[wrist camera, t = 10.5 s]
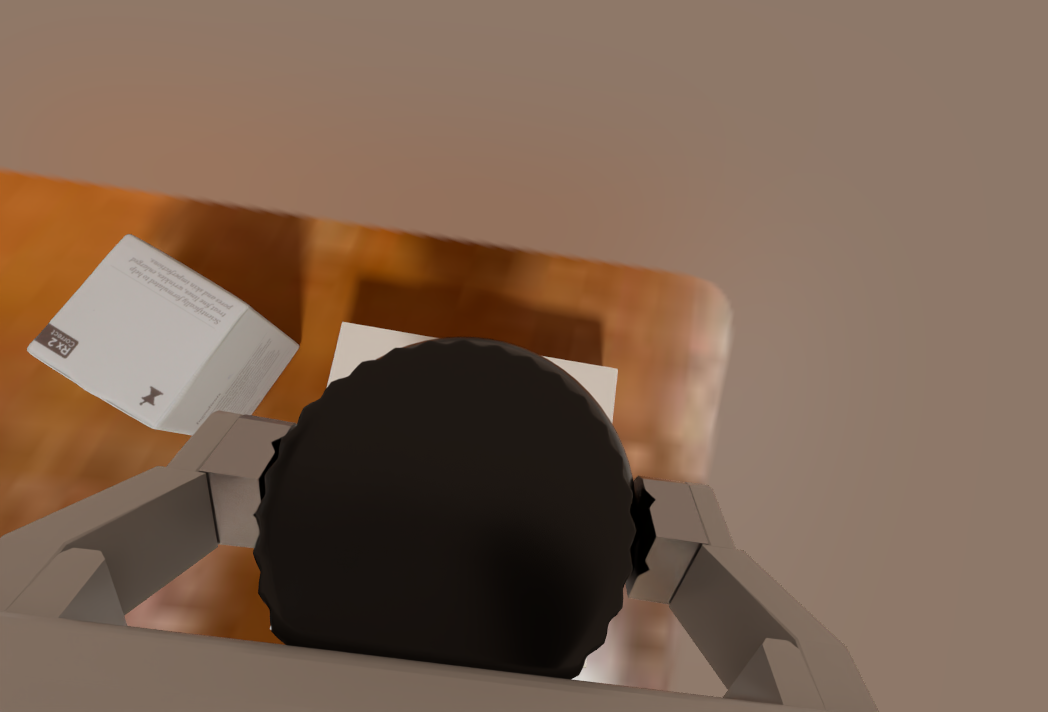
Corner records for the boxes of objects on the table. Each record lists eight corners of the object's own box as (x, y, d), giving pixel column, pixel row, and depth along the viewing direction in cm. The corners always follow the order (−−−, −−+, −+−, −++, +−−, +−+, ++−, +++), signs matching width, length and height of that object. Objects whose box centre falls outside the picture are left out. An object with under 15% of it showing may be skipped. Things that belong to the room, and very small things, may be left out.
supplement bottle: (408, 373, 19) (301, 194, 7) (592, 431, 19) (769, 342, 8) (334, 572, 17) (47, 741, 6) (537, 635, 17) (658, 928, 6)
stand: (290, 612, 26) (269, 629, 23) (353, 337, 29) (342, 321, 27) (572, 647, 27) (586, 668, 24) (602, 379, 31) (617, 368, 28)
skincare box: (303, 346, 29) (253, 303, 22) (232, 444, 28) (154, 433, 20) (207, 288, 29) (125, 227, 22) (130, 384, 28) (17, 352, 21)
